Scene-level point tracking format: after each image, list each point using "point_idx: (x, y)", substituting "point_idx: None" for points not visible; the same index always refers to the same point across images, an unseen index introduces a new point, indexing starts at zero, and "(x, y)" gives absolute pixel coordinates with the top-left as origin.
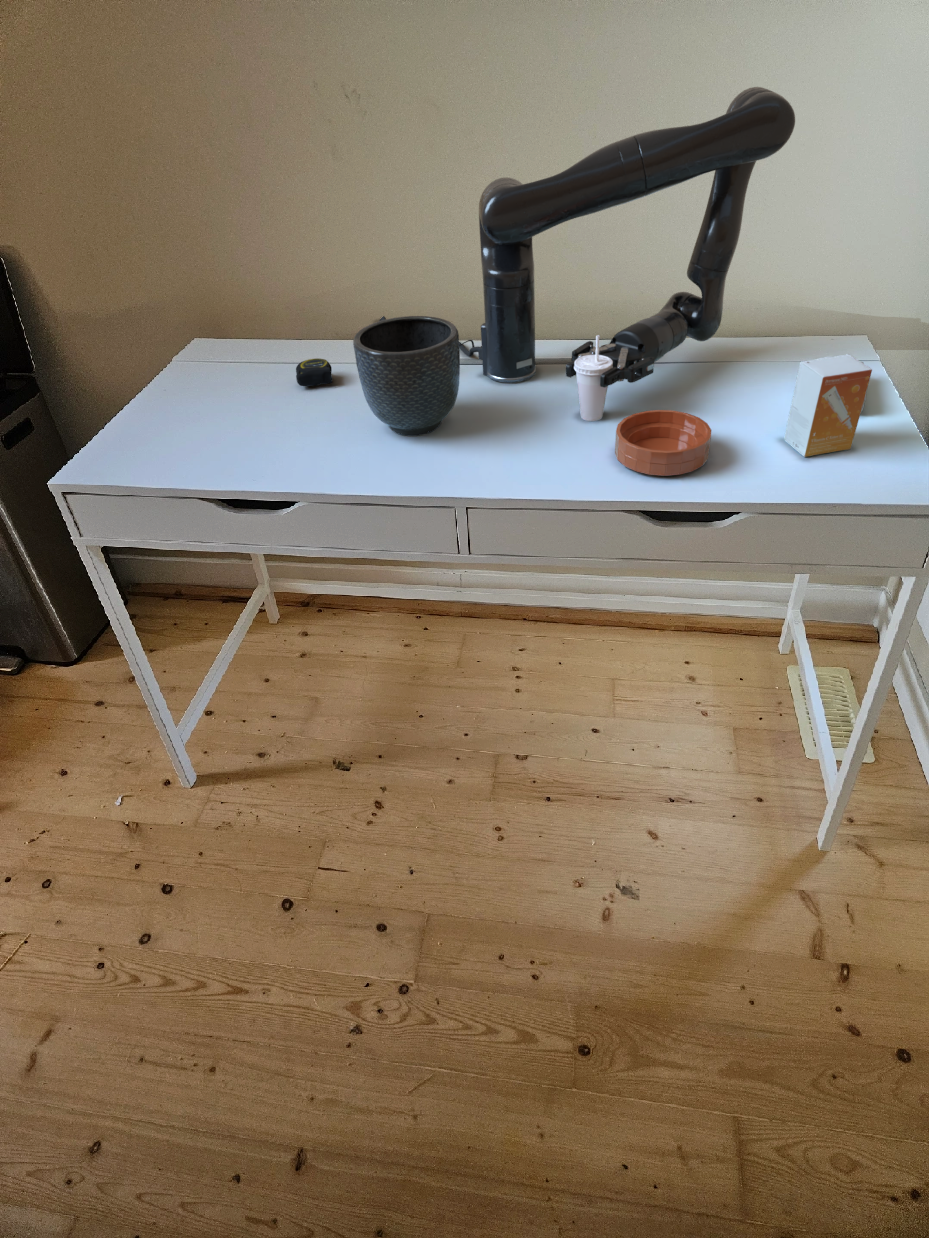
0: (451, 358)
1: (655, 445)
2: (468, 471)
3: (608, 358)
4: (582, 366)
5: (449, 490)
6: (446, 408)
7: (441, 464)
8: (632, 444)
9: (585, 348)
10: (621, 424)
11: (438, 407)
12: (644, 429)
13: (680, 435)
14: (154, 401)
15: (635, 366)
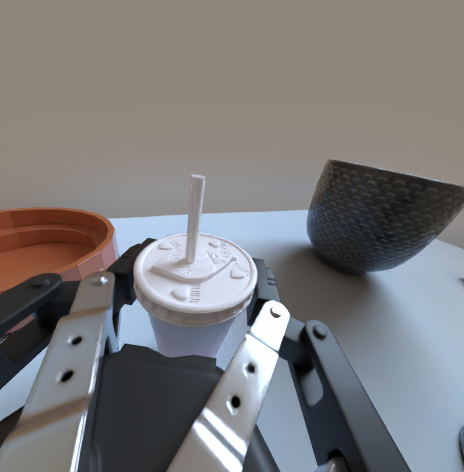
0: (331, 182)
1: None
2: (241, 226)
3: (158, 294)
4: (215, 240)
5: (234, 214)
6: (310, 230)
7: (263, 228)
8: (89, 213)
9: (337, 404)
10: (105, 239)
11: (307, 220)
12: None
13: None
14: (448, 245)
15: (18, 291)
